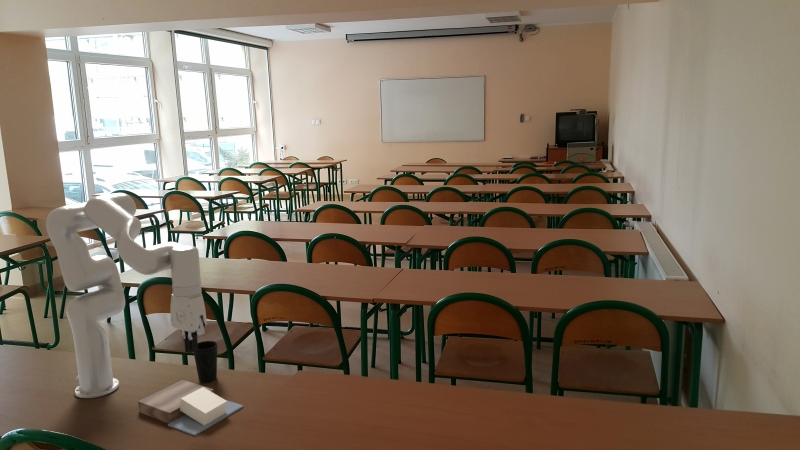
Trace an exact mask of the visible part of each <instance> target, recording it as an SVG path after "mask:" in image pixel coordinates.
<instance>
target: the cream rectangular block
mask: <svg viewBox="0 0 800 450" xmlns="http://www.w3.org/2000/svg"><path fill="white" fill-rule="evenodd" d="M204 387H205V386H204ZM204 387H202V388H200V389H198V390H196V391H194V392H192V393H190V394H188V395H187V396H185V397H183V398H181V404H180V411H182V412H183V413H185V414H187V415H188V416H190V417H191V418H193V419H195V420H196V421H198V422H199V423H201V424H203V425H204V426H205V425H206V424H208V423H210V422H211V421H213V420H215V419H217V418H218V417H220V416H222V415H223V414H225V413H226V408H227V401H228V400H227V399H224V398H223V397H221V396H219V395H218V394H216V393H215V392H214V393H212V392H211V391H209V390H207V389H206V388H204ZM226 400H227V401H226Z"/></svg>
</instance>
